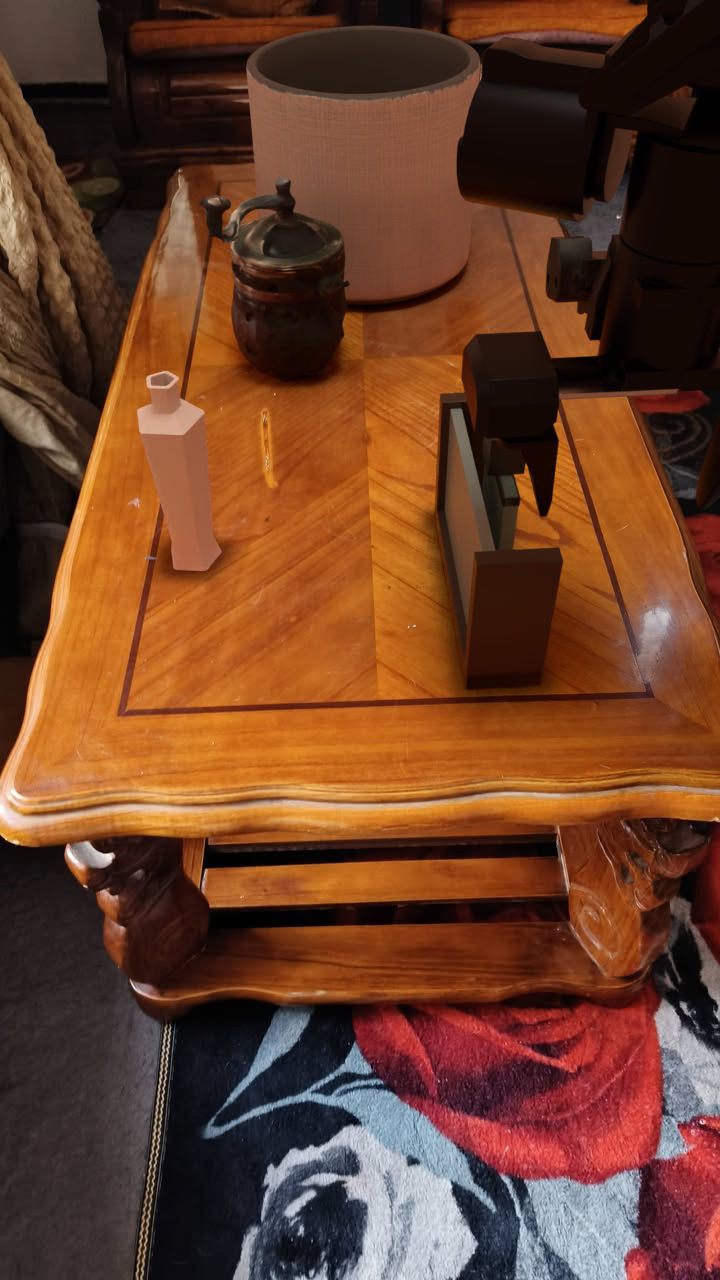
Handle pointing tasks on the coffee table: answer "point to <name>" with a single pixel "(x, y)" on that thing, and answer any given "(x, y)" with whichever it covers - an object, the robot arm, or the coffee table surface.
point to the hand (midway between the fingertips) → (621, 507)
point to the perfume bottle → (180, 471)
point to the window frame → (488, 568)
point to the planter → (370, 148)
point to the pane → (501, 491)
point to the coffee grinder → (283, 283)
